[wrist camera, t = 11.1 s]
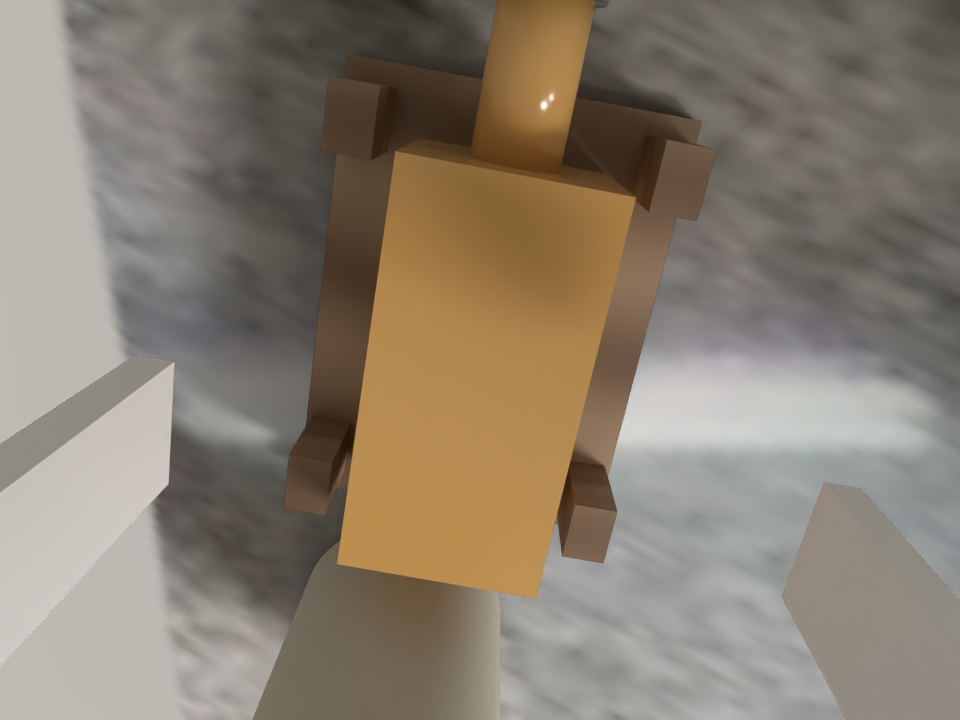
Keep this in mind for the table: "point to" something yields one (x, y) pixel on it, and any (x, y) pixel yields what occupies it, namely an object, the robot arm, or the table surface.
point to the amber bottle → (486, 323)
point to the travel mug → (386, 650)
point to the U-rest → (358, 243)
